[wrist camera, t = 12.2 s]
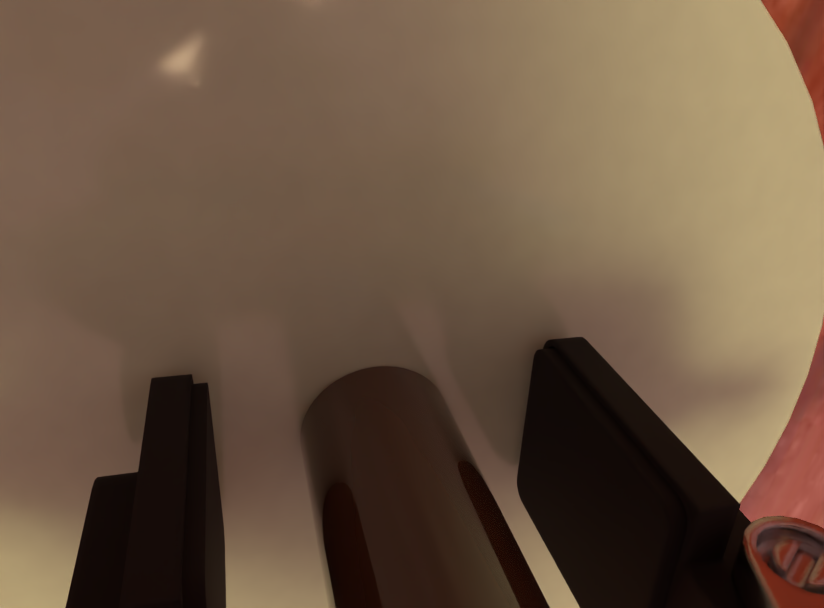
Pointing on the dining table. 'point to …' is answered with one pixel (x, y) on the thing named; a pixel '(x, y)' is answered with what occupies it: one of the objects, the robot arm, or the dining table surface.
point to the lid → (388, 266)
